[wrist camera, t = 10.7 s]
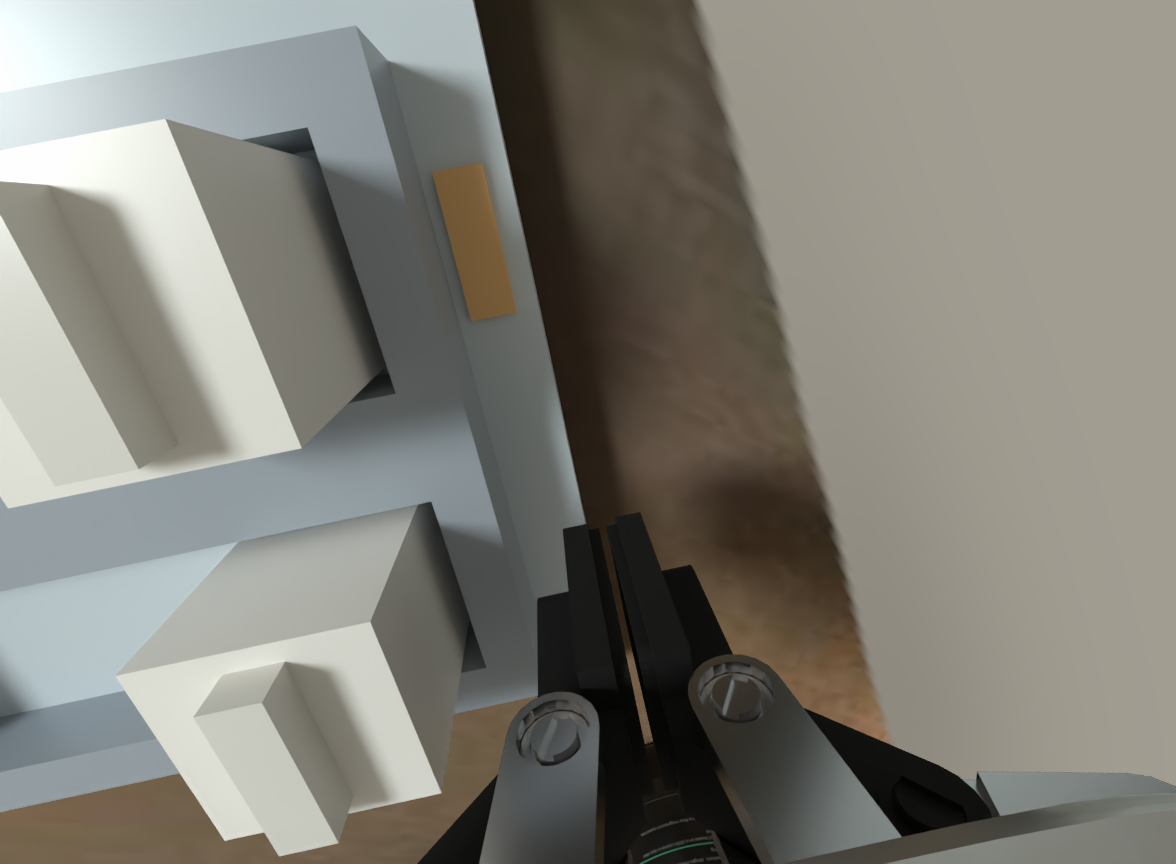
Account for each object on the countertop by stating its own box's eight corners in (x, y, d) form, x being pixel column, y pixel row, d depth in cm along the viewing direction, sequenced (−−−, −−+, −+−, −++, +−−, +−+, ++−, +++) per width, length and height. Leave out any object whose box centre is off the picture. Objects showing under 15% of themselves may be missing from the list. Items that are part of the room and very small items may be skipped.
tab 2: (262, 515, 13) (74, 720, 8) (427, 481, 13) (354, 659, 8) (322, 643, 15) (199, 891, 9) (470, 612, 15) (434, 838, 9)
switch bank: (-555, 139, 11) (-1036, 102, 7) (463, -52, 11) (434, -166, 8) (-12, 774, 17) (-138, 903, 14) (611, 640, 18) (629, 735, 14)
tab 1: (121, 203, 11) (-311, 184, 5) (325, 163, 11) (112, 103, 5) (210, 397, 12) (-52, 540, 7) (390, 361, 12) (276, 473, 7)
